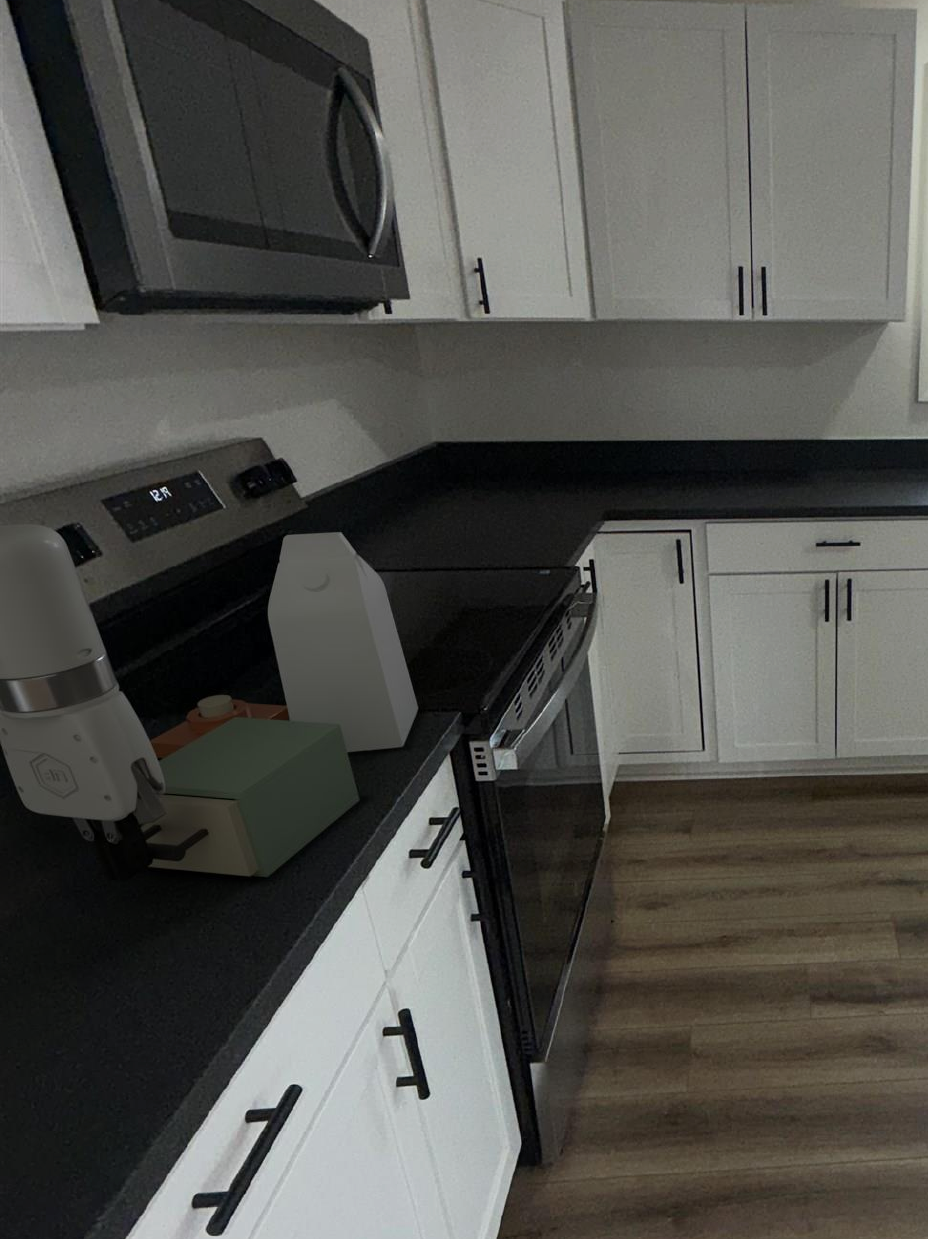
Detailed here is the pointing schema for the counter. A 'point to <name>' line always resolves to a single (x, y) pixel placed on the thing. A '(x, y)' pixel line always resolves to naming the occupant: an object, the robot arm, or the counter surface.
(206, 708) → the button
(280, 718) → the control block
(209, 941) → the counter surface
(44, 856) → the counter surface
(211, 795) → the green drawer cabinet
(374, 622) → the milk
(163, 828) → the beige drawer
